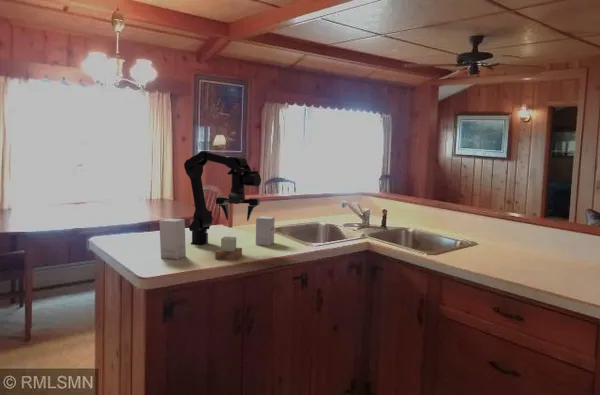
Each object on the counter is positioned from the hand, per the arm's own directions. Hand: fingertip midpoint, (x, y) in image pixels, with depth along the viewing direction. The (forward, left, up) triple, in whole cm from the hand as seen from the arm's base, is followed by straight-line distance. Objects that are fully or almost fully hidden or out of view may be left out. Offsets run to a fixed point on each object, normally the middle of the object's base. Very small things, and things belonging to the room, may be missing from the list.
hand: (237, 220), depth 205 cm
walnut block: (0, -15, -14) cm, 20 cm away
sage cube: (0, -15, -10) cm, 18 cm away
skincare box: (-22, -20, -13) cm, 33 cm away
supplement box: (+10, +14, -13) cm, 22 cm away
